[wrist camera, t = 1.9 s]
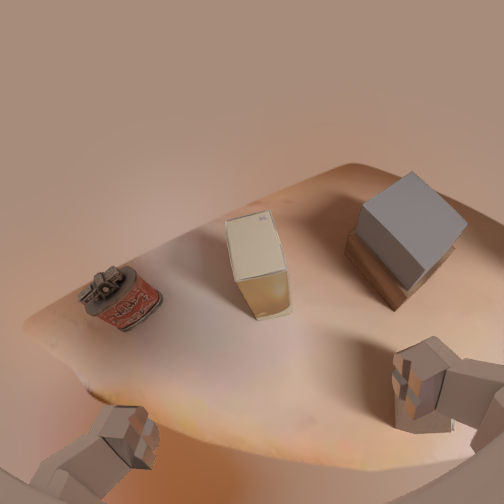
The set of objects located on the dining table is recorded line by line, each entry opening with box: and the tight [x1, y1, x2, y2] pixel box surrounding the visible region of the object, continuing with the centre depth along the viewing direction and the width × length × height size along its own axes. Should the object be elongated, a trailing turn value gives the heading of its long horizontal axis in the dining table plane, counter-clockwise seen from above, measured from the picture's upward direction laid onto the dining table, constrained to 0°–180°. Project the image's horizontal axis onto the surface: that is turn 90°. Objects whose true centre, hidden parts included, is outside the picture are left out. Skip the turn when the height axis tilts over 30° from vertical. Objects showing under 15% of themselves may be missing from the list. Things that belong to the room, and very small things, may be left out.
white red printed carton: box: [394, 391, 455, 434], centre depth 19 cm, size 4×7×10 cm, turn 179°
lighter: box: [78, 266, 163, 332], centre depth 30 cm, size 8×3×10 cm, turn 127°
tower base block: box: [344, 227, 455, 312], centre depth 30 cm, size 10×10×5 cm
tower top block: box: [355, 172, 468, 291], centre depth 25 cm, size 9×9×5 cm
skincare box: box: [225, 210, 292, 321], centre depth 27 cm, size 6×4×12 cm
